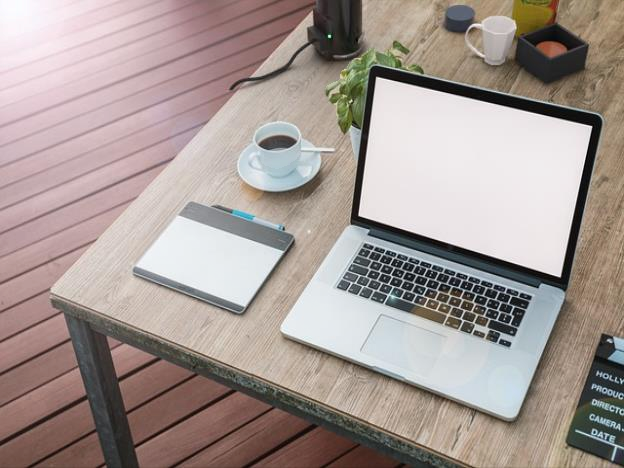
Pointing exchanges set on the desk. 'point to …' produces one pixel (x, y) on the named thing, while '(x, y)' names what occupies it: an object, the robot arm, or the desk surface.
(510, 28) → the cup
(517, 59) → the tub
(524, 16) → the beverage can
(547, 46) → the terracotta disc
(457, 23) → the dark blue short cylinder
